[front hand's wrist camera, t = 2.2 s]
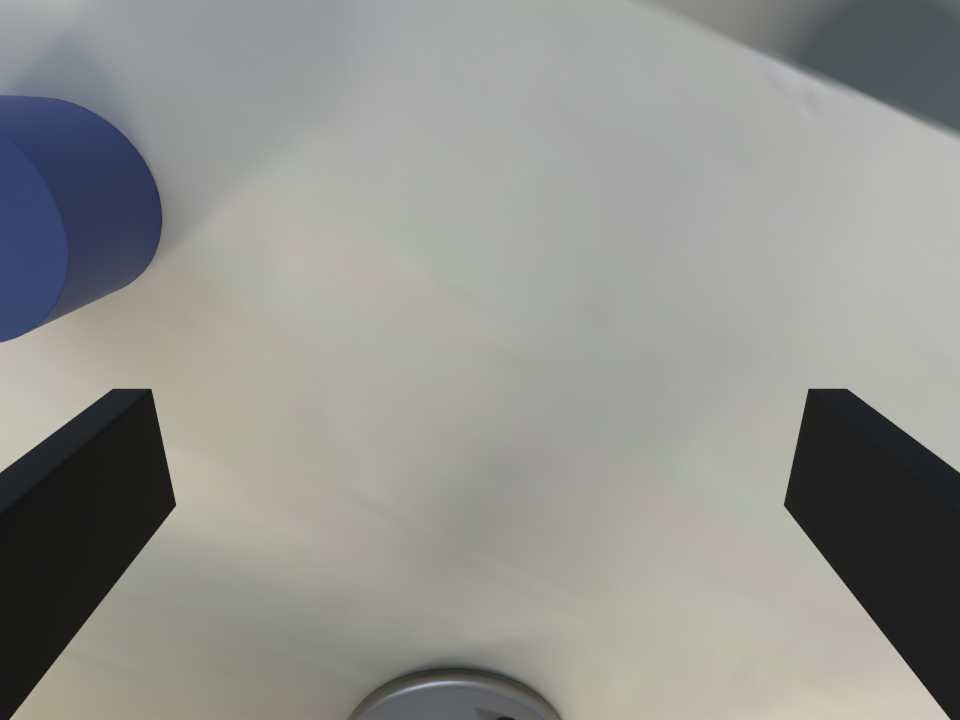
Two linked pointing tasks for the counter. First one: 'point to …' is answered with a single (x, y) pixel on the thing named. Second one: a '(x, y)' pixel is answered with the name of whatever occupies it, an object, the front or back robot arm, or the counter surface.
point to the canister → (68, 211)
